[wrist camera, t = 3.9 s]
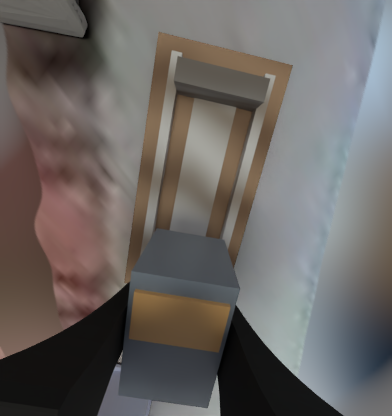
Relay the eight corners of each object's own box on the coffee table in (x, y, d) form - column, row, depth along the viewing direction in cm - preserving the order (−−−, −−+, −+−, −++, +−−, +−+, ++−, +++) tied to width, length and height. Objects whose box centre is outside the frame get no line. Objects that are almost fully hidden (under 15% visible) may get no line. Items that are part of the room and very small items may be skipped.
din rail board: (223, 297, 22) (228, 323, 19) (126, 279, 22) (112, 303, 18) (289, 68, 16) (314, 44, 13) (160, 36, 16) (149, 2, 12)
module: (204, 325, 15) (208, 413, 10) (144, 315, 14) (116, 400, 9) (224, 239, 13) (241, 292, 8) (156, 228, 13) (129, 274, 8)
